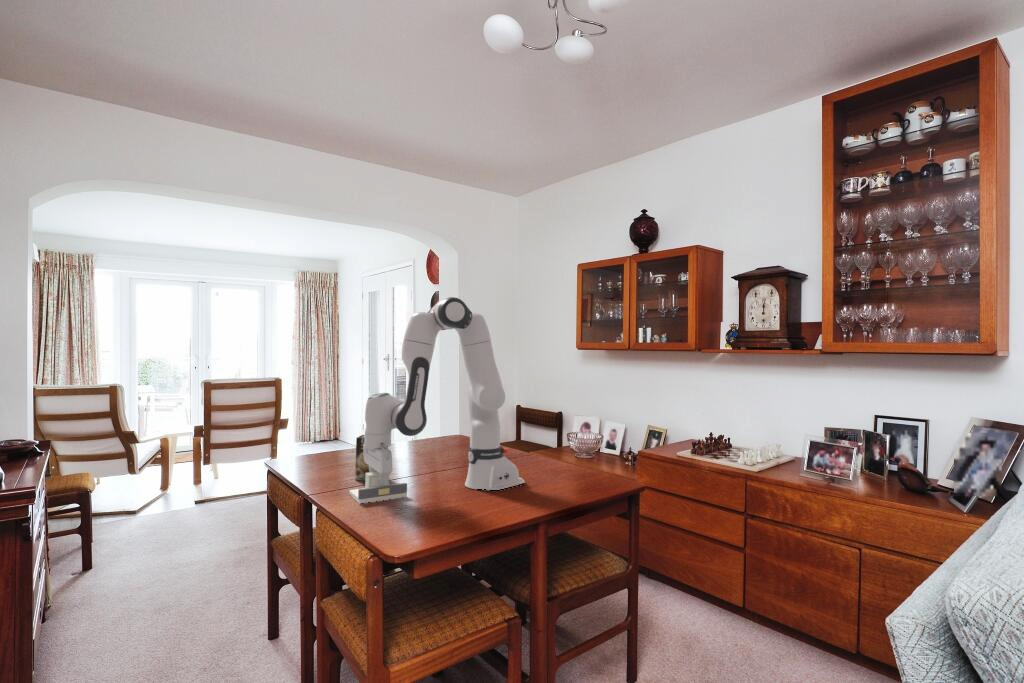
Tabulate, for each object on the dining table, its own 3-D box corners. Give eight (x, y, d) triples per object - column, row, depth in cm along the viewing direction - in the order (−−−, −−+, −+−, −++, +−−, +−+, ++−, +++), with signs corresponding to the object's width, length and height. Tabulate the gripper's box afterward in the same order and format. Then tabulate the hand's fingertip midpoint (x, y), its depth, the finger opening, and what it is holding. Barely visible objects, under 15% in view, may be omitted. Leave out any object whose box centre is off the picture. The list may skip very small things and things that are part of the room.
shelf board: (394, 488, 181) (394, 475, 181) (407, 497, 171) (407, 483, 171) (349, 494, 173) (349, 481, 173) (359, 504, 162) (359, 490, 162)
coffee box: (354, 480, 191) (355, 437, 191) (360, 476, 197) (361, 434, 197) (377, 481, 190) (378, 438, 190) (383, 477, 196) (384, 435, 196)
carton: (365, 490, 173) (365, 472, 173) (385, 487, 176) (385, 470, 177) (368, 493, 169) (369, 475, 169) (389, 490, 173) (389, 473, 173)
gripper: (397, 445, 166) (396, 487, 166) (377, 435, 183) (377, 473, 183) (378, 447, 163) (377, 490, 162) (360, 436, 180) (359, 475, 180)
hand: (377, 481), depth 173 cm, fingers open, 8 cm apart
